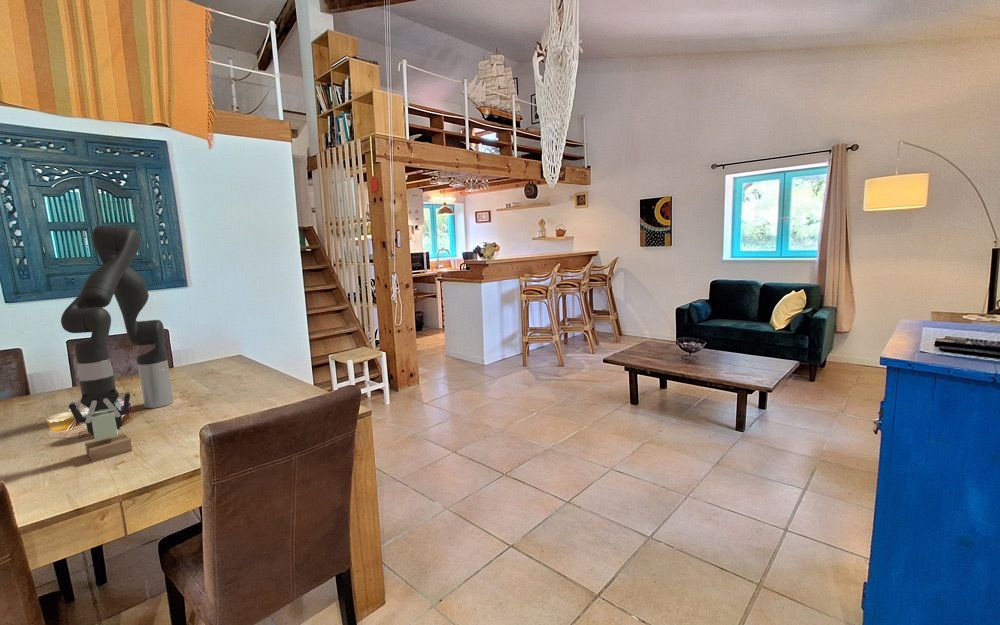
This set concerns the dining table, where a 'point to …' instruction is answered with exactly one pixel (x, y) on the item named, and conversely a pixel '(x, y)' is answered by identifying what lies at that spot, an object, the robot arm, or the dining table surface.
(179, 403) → the dining table surface
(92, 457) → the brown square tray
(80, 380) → the robot arm
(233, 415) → the dining table surface
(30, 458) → the dining table surface
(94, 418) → the green block
